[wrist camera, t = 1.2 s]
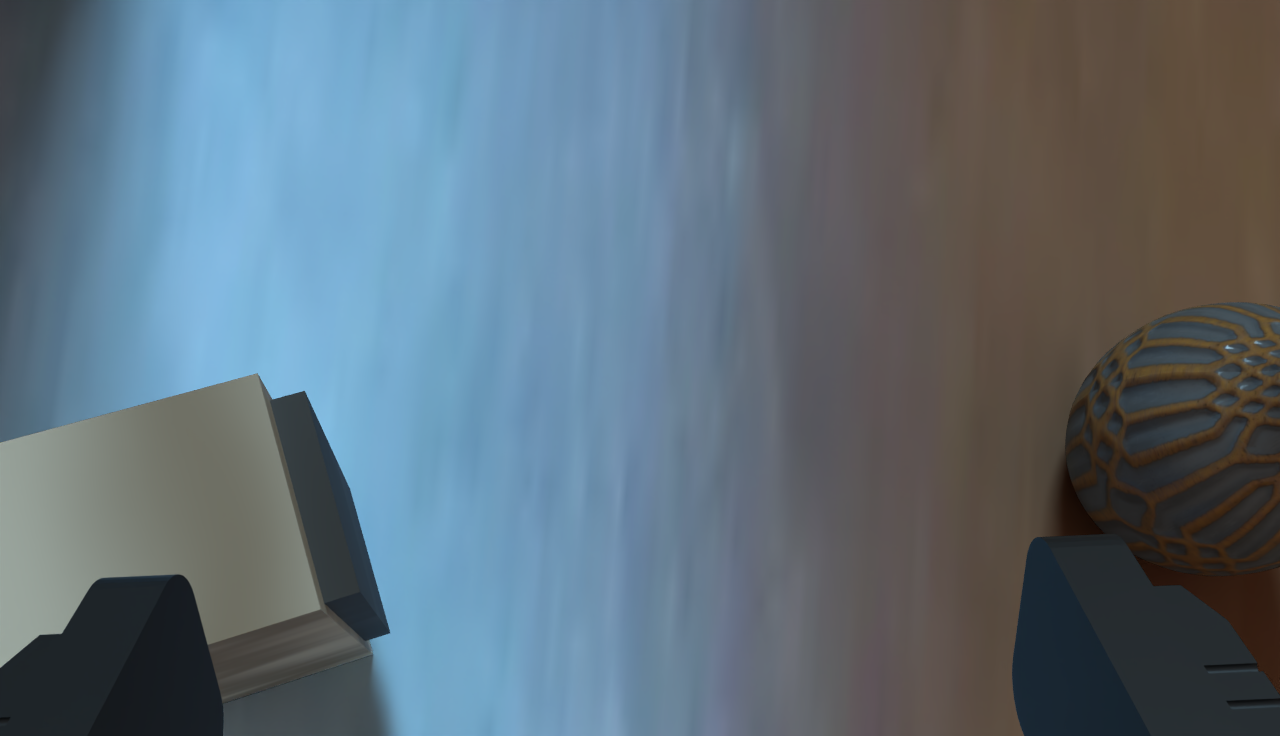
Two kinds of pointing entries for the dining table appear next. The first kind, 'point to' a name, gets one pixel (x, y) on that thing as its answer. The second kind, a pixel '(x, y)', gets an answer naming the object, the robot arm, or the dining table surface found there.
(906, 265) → the dining table surface
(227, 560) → the tall beige block
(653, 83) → the dining table surface
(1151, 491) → the vase
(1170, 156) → the dining table surface
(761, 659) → the dining table surface
